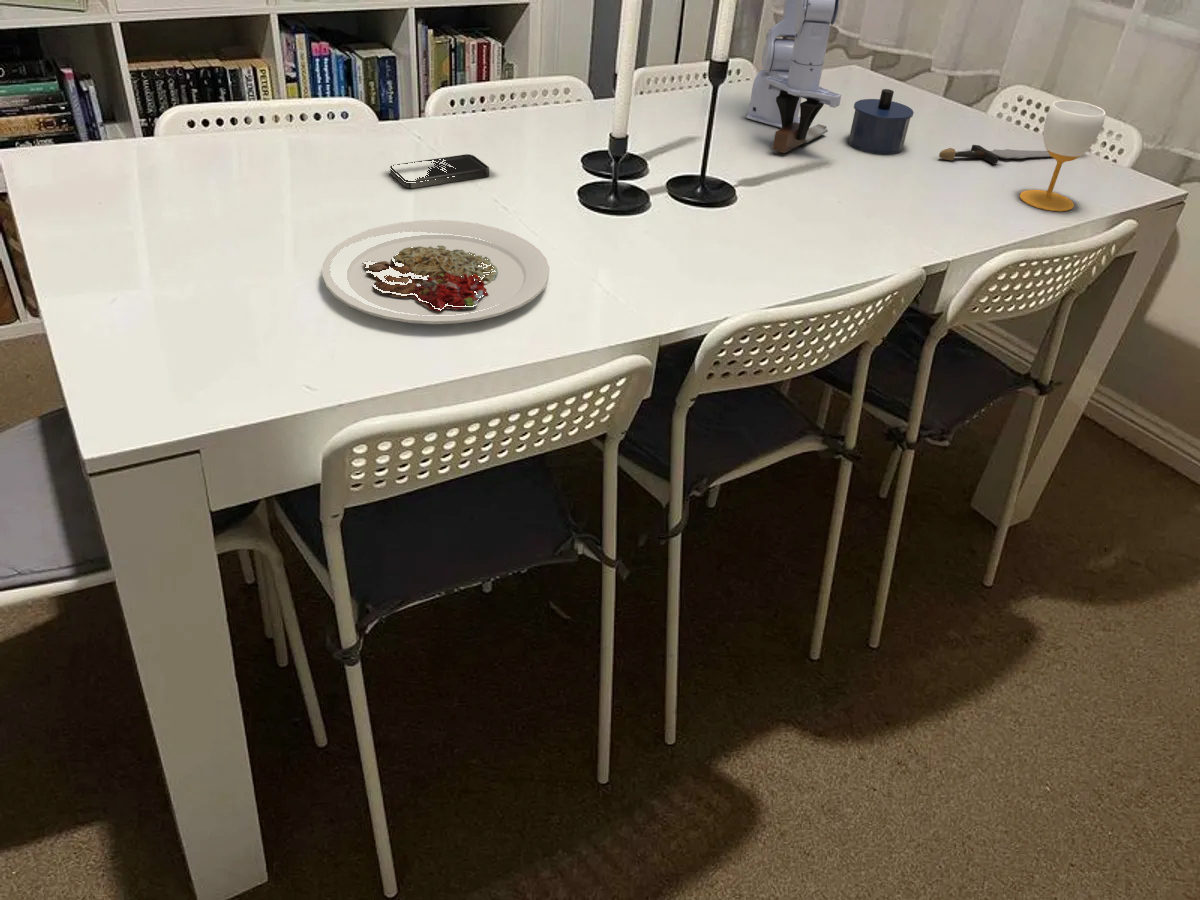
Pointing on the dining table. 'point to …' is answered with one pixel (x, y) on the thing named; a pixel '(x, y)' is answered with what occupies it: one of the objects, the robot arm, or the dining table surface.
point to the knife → (795, 136)
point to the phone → (448, 171)
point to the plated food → (443, 272)
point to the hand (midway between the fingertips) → (793, 136)
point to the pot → (877, 134)
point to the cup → (1065, 146)
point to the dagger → (991, 154)
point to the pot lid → (884, 107)
